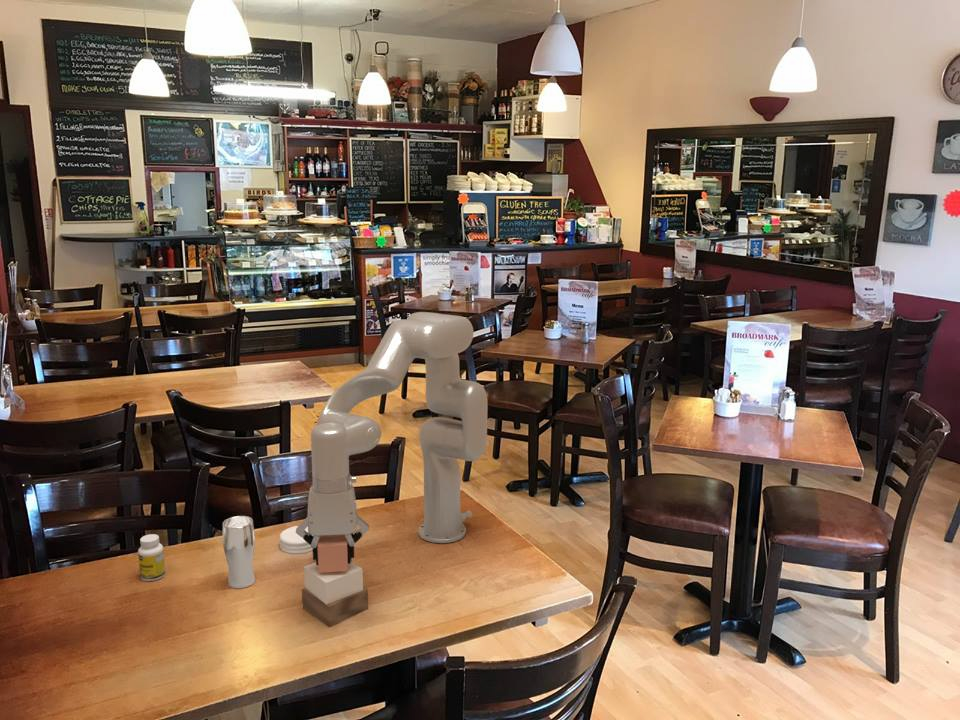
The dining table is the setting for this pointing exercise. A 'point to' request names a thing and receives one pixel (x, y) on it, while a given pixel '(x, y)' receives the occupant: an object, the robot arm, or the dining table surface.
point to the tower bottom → (335, 607)
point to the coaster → (294, 542)
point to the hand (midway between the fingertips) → (333, 560)
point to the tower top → (333, 582)
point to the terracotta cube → (332, 553)
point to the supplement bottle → (151, 558)
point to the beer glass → (239, 550)
